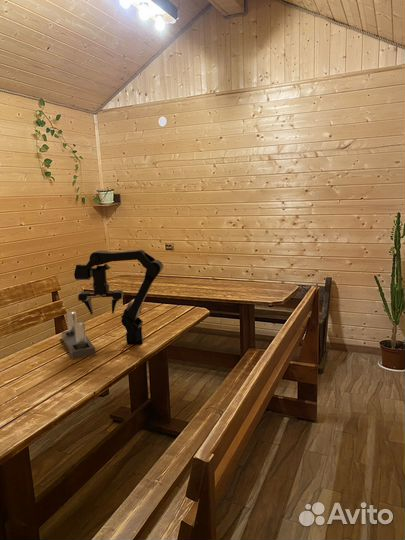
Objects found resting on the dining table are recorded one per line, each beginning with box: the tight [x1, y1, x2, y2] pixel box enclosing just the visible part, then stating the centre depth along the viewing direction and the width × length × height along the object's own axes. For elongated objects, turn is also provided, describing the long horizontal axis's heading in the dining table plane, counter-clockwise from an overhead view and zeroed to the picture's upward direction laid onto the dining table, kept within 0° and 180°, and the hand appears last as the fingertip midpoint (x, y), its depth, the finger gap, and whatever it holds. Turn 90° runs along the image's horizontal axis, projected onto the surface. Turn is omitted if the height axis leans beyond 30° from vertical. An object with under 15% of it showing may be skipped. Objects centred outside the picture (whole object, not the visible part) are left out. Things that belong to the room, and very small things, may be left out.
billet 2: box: [75, 321, 87, 350], centre depth 163 cm, size 4×4×13 cm
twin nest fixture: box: [61, 330, 96, 360], centre depth 171 cm, size 9×28×3 cm, turn 28°
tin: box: [126, 298, 142, 314], centre depth 215 cm, size 15×3×8 cm, turn 168°
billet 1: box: [66, 310, 78, 336], centre depth 178 cm, size 4×4×13 cm
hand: (102, 314), depth 174 cm, fingers open, 9 cm apart
